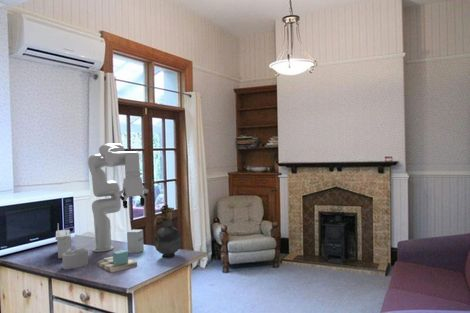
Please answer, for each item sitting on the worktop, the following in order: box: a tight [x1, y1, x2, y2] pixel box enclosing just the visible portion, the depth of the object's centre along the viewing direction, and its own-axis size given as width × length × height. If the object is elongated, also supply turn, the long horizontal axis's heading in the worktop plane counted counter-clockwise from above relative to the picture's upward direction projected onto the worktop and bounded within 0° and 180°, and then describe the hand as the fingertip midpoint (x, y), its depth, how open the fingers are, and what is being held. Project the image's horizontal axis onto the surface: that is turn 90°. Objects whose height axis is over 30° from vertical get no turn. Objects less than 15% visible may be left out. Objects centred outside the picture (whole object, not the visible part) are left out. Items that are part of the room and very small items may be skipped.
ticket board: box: [97, 255, 138, 273], centre depth 196 cm, size 18×14×3 cm
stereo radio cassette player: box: [55, 224, 72, 260], centre depth 222 cm, size 21×8×20 cm, turn 25°
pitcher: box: [153, 204, 182, 259], centre depth 207 cm, size 11×19×30 cm, turn 153°
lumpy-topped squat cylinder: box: [61, 247, 89, 270], centre depth 199 cm, size 10×13×9 cm
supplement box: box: [126, 229, 145, 254], centre depth 223 cm, size 7×7×13 cm
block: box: [112, 249, 129, 265], centre depth 193 cm, size 5×6×6 cm
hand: (134, 206), depth 196 cm, fingers open, 9 cm apart
